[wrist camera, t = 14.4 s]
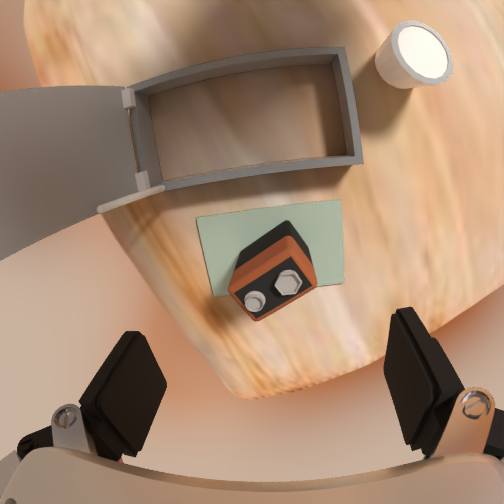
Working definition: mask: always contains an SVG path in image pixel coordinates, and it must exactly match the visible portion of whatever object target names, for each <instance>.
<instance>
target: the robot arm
mask: <svg viewBox="0 0 504 504" xmlns="http://www.w3.org/2000/svg"><path fill="white" fill-rule="evenodd" d="M384 375H385V378H386V381H387V384H388V387H389V390H390V393H391V397H392V400H393V403H394V406H395V410H396V413H397V416H398V420H399V423H400V426H401V430H402V433H403V437H404V441H405V443H406V445H409V444H410V446H411V450H412V451H414V450H417V449H420V448H421V450H422V453H423V454H424V457H423V459H422V460H421V461H417V462H413V463H408V464H404V465H400V466H396V467H391V468H387V469H383V470H378V471H372V472H367V473H361V474H355V475H349V476H343V477H336V478H328V479H318V480H306V481H290V482H243V481H225V480H213V479H204V478H195V477H188V476H182V475H175V474H169V473H164V472H159V471H154V470H149V469H145V468H140V467H136V466H132V465H128V464H124V463H123V460H122V458H121V456H122V454H123V453H124V455H128V456H132V457H136V455H137V453H138V451H141V450H142V448H143V445H144V442H145V440H146V437H147V435H148V432H149V430H150V427H151V425H152V422H153V420H154V417H155V415H156V413H157V410H158V408H159V405H160V403H161V400H162V398H163V395H164V393H165V391H166V388H167V382H166V379H165V378H164V376H163V374H162V371H161V369H160V367H159V366H158V363H157V361H156V359H155V357H154V355H153V353H152V351H151V348H150V346H149V344H148V342H147V340H146V338H145V336H144V335H142V334H141V333H140V332H139V331H126V332H125V333H124V334H123V335H122V337H121V338H120V340H119V341H118V343H117V344H116V345H115V347H114V348H113V350H112V351H111V353H110V354H109V356H108V357H107V359H106V360H105V361H104V363H103V365H102V366H101V367H100V369H99V370H98V372H97V373H96V375H95V376H94V378H93V380H92V381H91V383H90V384H89V386H88V387H87V389H86V390H85V392H84V393H83V395H82V397H81V398H80V400H79V403H80V404H81V407H80V408H79V407H78V406H76V405H74V404H66V405H64V406H61V407H60V408H58V409H57V410H56V411H55V413H54V414H53V416H52V420H51V426H49V427H46V428H43V429H41V430H39V431H36V432H34V433H31V434H29V435H27V436H25V437H23V438H22V439H21V440H20V442H19V443H18V447H17V452H16V451H15V450H14V451H13V452H11V453H10V454H9V455H7V456H6V457H5V458H3V459H2V460H1V461H0V504H504V411H503V410H500V409H497V408H495V401H494V398H493V397H492V395H491V394H490V393H489V392H488V391H487V390H485V389H483V388H479V387H472V388H468V389H466V390H465V388H464V386H463V385H462V383H461V381H460V379H459V377H458V375H457V373H456V372H455V370H454V368H453V366H452V364H451V363H450V361H449V359H448V357H447V356H446V354H445V352H444V351H443V349H442V347H441V346H440V344H439V342H438V341H437V340H436V338H431V336H430V334H429V333H428V331H427V329H426V328H425V326H424V325H423V323H422V321H421V320H420V318H419V317H418V315H417V314H416V312H415V310H414V309H413V308H412V307H406V308H401V309H397V310H396V313H395V314H392V316H391V322H390V330H389V337H388V344H387V350H386V356H385V362H384Z"/></svg>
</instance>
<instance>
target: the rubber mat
mask: <svg viewBox="0 0 504 504" xmlns="http://www.w3.org/2000/svg"><path fill="white" fill-rule="evenodd" d="M196 220H197V225H198V229H199V234H200V238H201V243H202V247H203V252H204V256H205V261H206V265H207V269H208V273H209V278H210V282H211V286H212V290H213V294H214V296H225V295H230V294H229V292H228V286H229V283H230V280H231V277H232V274H233V272H234V269H235V266H236V263H237V260H238V257H239V254H240V252H241V251H242V250H243V249H244V248H246V247H247V246H248V245H250V244H251V243H253V242H254V241H256V240H257V239H259V238H260V237H261V236H263V235H264V234H266V233H267V232H269V231H270V230H272V229H273V228H275V227H276V226H277V225H279V224H280V223H282V222H283V221H285V220H288V221H290V222H291V224H292V225H293V226H294V228H295V229H296V230H297V232H298V233H299V235H300V236H301V237H302V239H303V240H304V242H305V243H306V244H307V246H308V248H309V251H310V255H311V259H312V263H313V266H314V270H315V274H316V278H317V286H324V285H332V284H340V283H345V268H344V241H343V222H342V208H341V200H340V199H339V200H329V201H319V202H310V203H301V204H292V205H284V206H276V207H268V208H260V209H252V210H245V211H237V212H230V213H223V214H216V215H210V216H203V217H197V218H196Z"/></svg>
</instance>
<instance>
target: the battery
mask: <svg viewBox="0 0 504 504" xmlns="http://www.w3.org/2000/svg"><path fill="white" fill-rule="evenodd" d="M316 286H317V278H316V274H315V270H314V266H313V263H312V259H311V255H310V251H309V248H308V246H307V244H306V243H305V242H304V240H303V239H302V237H301V236H300V235H299V233H298V232H297V230H296V229H295V228H294V226H293V225H292V224H291V222H290V221H288V220H285V221H283V222H282V223H280V224H279V225H277V226H276V227H275V228H273V229H272V230H270V231H269V232H267V233H266V234H264V235H263V236H261V237H260V238H259V239H257V240H256V241H254V242H253V243H251V244H250V245H248V246H247V247H246V248H244V249H243V250H242V251H241V252H240V254H239V257H238V260H237V263H236V266H235V269H234V272H233V274H232V277H231V280H230V283H229V286H228V292H229V294H230V295H231V296H232V297H233V298H234V299H235V300H236V302H237V303H238V304H239V305H240V306H241V307H242V308H243V310H244V311H245V312H246V313H247V314H248V315H249V316H250V317H251V318H252V320H254V321H260V320H262V319H263V318H265V317H267V316H269V315H271V314H272V313H274V312H276V311H277V310H279V309H281V308H283V307H284V306H286V305H288V304H289V303H291V302H293V301H294V300H296V299H298V298H299V297H301V296H303V295H304V294H306V293H308V292H309V291H311V290H313V289H314V288H315V287H316Z"/></svg>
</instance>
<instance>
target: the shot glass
mask: <svg viewBox="0 0 504 504" xmlns="http://www.w3.org/2000/svg"><path fill="white" fill-rule="evenodd" d="M374 61H375V66H376V70H377V71H378V73H379V75H380V76H381V78H382V79H383V80H385V81H386V82H387V83H388V84H389V85H391V86H394V87H396V88H402V89H408V88H415V87H423V86H432V85H438V84H441V83H443V82H446V81H447V79H448V78H449V77H450V75H451V74H452V67H453V60H452V56H451V52H450V50H449V48H448V46H447V44H446V43H445V41H444V39H443V38H442V37H441V36H440V35H439V34H438V33H437V32H436V31H435V30H434V29H432V28H431V27H429V26H427V25H425V24H424V23H422V22H417V21H412V20H408V21H404V22H400V23H399V24H398V25H397V26H396V27H395V28H394V29H393V30H392V32H391V33H390V35H389V36H388V37H387V39H386V40H385V41H384V43H383V44H382V45H381V47H380V48H379V49H378V51H377V52H376V55H375V60H374Z"/></svg>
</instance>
